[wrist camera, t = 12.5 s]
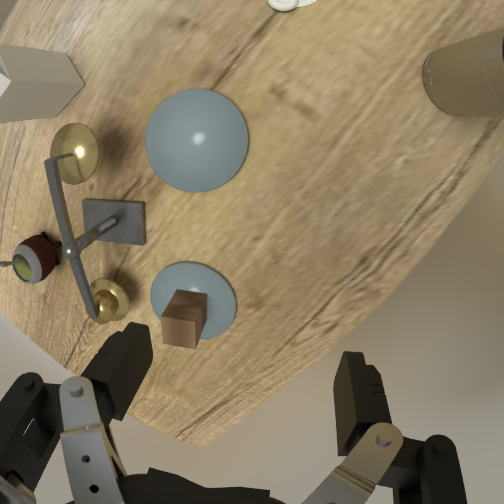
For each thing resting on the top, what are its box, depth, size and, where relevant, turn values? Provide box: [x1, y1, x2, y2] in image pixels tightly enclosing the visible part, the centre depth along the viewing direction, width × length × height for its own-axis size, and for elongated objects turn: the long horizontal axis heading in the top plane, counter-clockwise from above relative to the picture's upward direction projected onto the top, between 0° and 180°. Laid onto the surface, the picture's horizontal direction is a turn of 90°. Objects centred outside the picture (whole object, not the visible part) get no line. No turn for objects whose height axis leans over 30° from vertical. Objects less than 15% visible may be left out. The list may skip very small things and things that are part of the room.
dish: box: [150, 261, 237, 339], centre depth 45 cm, size 13×13×1 cm
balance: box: [44, 123, 146, 324], centre depth 36 cm, size 10×28×14 cm, turn 175°
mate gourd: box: [0, 232, 62, 284], centre depth 38 cm, size 8×8×15 cm
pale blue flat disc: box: [145, 89, 249, 192], centre depth 36 cm, size 13×13×1 cm
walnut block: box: [161, 289, 207, 349], centre depth 42 cm, size 4×4×7 cm
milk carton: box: [0, 44, 85, 124], centre depth 25 cm, size 7×7×19 cm
